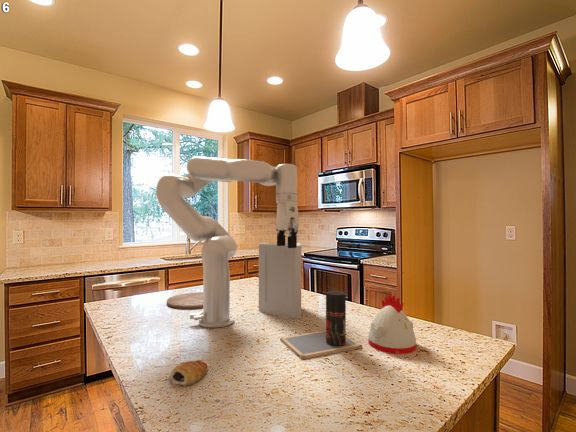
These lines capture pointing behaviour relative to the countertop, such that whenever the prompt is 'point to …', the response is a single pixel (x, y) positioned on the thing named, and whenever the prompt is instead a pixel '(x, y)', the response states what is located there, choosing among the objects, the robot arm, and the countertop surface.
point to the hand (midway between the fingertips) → (286, 246)
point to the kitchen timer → (392, 329)
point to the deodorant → (336, 318)
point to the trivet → (186, 301)
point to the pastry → (188, 372)
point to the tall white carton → (280, 280)
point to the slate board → (316, 345)
